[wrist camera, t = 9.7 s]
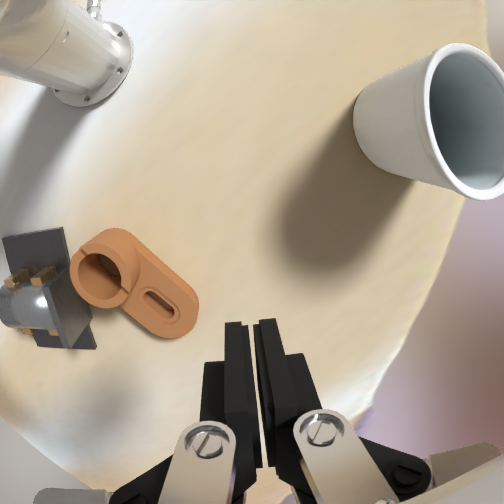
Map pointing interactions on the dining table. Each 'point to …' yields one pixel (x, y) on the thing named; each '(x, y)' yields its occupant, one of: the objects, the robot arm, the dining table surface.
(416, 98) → the utensil holder
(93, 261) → the bracket
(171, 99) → the dining table surface
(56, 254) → the pipe stub
